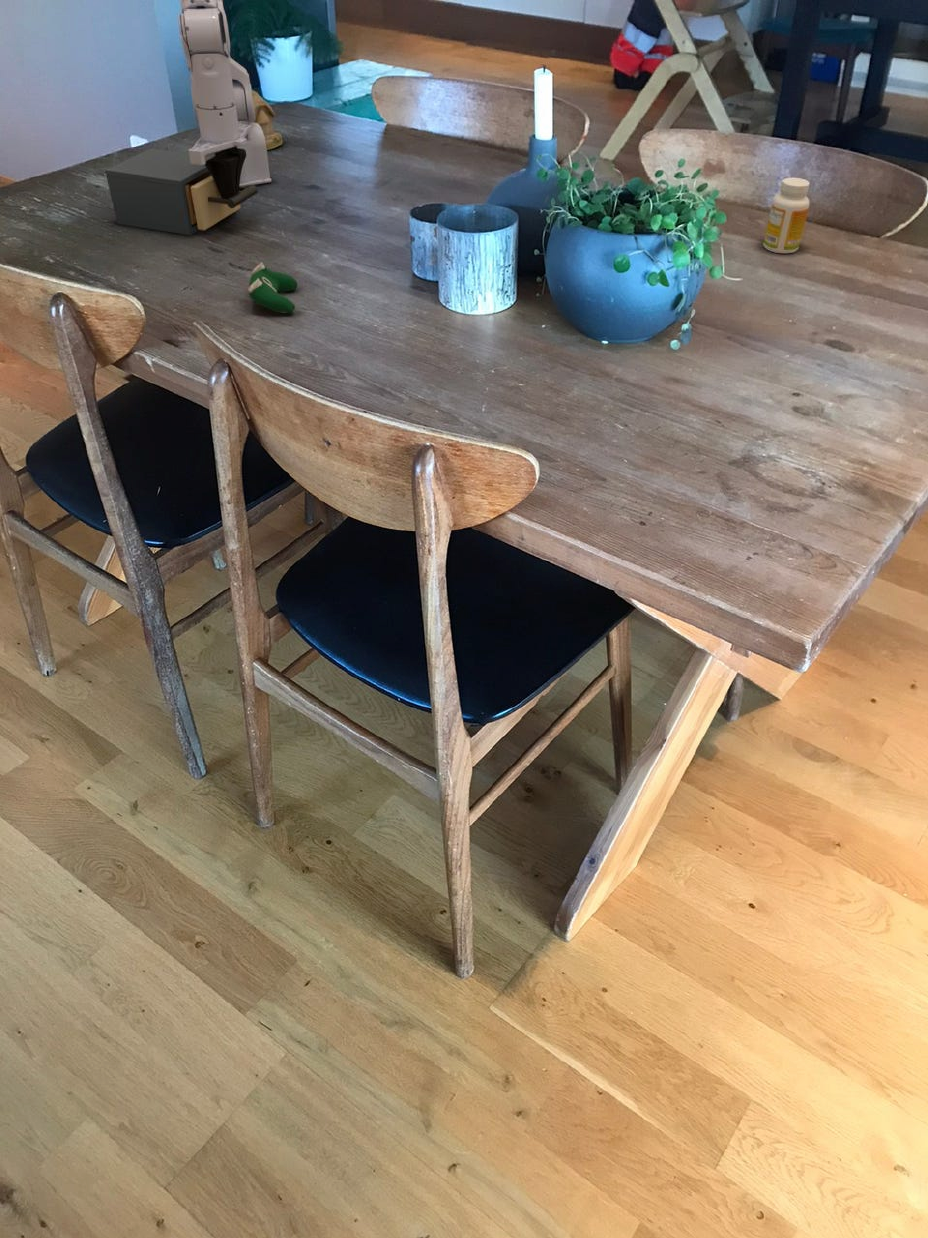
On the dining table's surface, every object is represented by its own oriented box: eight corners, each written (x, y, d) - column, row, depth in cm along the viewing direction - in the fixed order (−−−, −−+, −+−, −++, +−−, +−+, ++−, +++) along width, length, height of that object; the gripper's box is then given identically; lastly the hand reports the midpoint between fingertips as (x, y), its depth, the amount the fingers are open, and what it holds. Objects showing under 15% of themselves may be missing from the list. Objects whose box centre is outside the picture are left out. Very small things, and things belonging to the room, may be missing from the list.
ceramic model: (209, 139, 183) (200, 81, 176) (257, 128, 188) (250, 72, 182) (249, 155, 175) (241, 96, 168) (298, 143, 181) (292, 86, 174)
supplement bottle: (799, 243, 145) (816, 177, 138) (796, 256, 141) (813, 189, 134) (764, 239, 146) (779, 173, 140) (760, 251, 142) (775, 184, 136)
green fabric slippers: (283, 300, 132) (248, 271, 129) (300, 280, 130) (265, 251, 127) (279, 329, 125) (242, 299, 122) (296, 309, 123) (260, 278, 120)
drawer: (267, 211, 150) (262, 170, 146) (232, 234, 143) (225, 191, 139) (175, 197, 155) (167, 157, 151) (136, 219, 147) (127, 177, 143)
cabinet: (231, 210, 153) (223, 157, 148) (190, 235, 145) (180, 180, 140) (161, 199, 157) (150, 147, 151) (117, 223, 148) (104, 169, 143)
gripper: (212, 120, 130) (228, 219, 139) (264, 95, 140) (275, 189, 149) (169, 114, 132) (188, 213, 141) (223, 90, 142) (237, 184, 151)
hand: (230, 200), depth 145 cm, fingers closed, pressing on drawer
